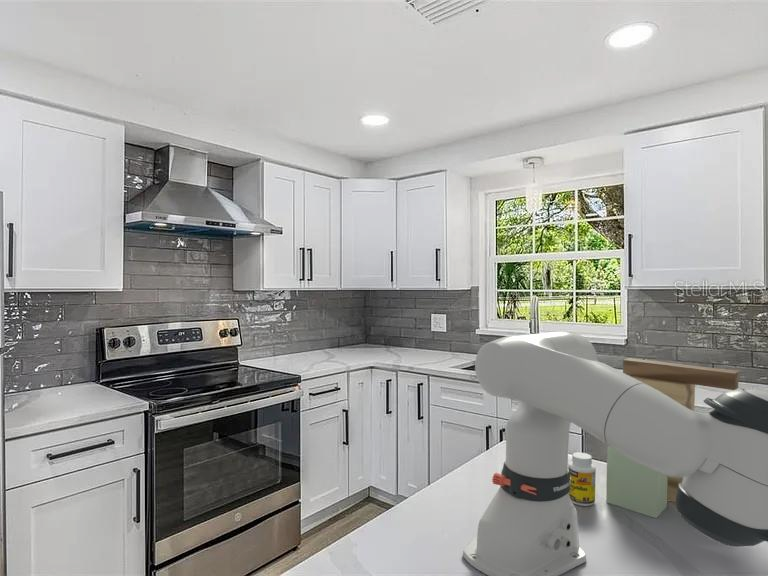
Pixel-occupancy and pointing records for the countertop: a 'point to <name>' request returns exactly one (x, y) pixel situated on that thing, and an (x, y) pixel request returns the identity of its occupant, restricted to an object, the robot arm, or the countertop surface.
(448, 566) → the countertop surface
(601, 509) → the countertop surface
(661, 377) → the batten
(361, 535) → the countertop surface
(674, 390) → the stand
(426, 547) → the countertop surface
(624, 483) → the block
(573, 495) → the supplement bottle
